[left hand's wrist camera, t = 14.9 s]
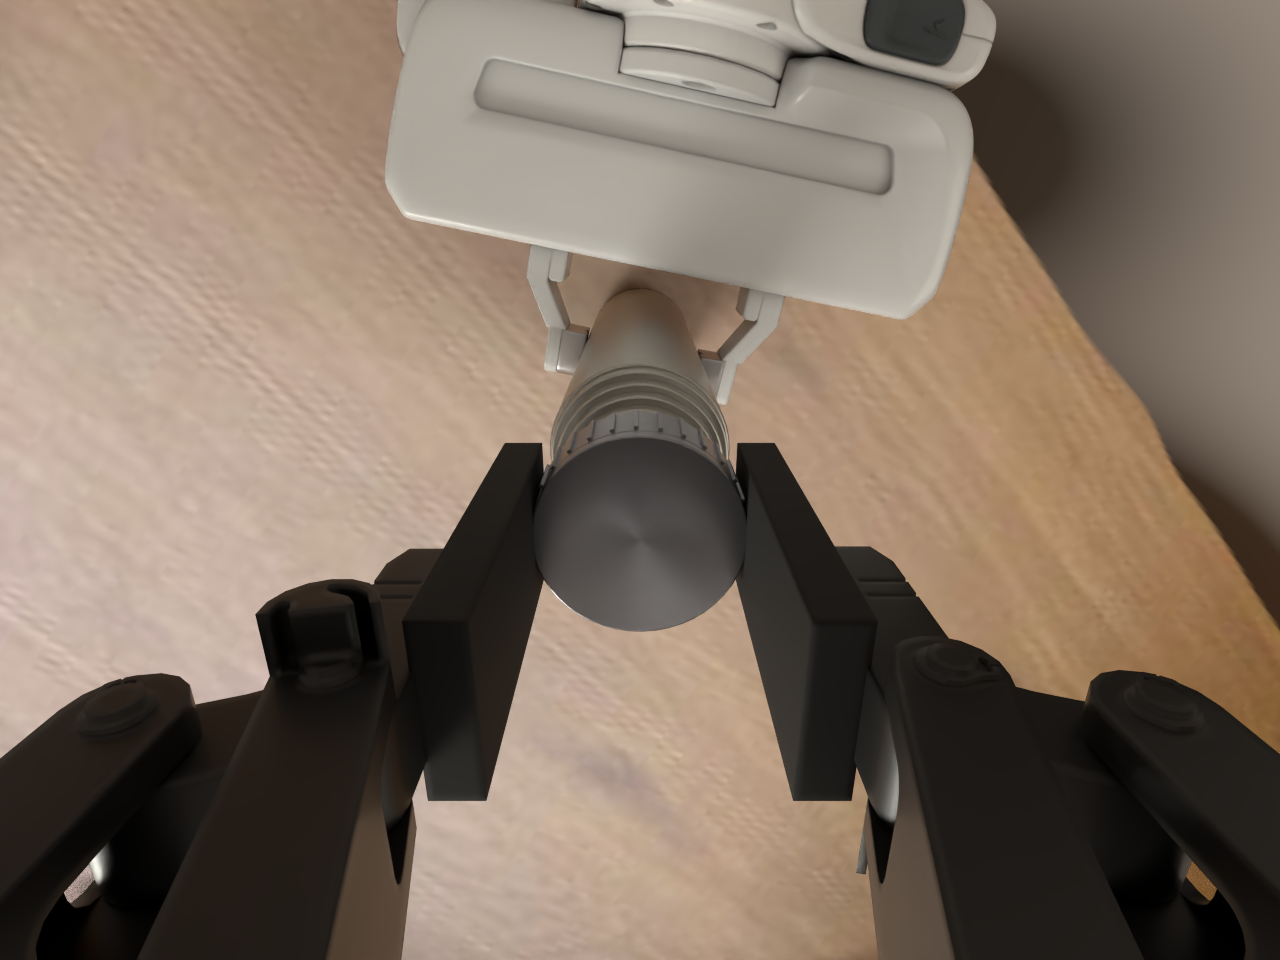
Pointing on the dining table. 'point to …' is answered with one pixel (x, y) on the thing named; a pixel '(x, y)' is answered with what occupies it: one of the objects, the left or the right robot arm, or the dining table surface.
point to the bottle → (640, 370)
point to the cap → (639, 522)
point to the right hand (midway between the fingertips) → (636, 385)
